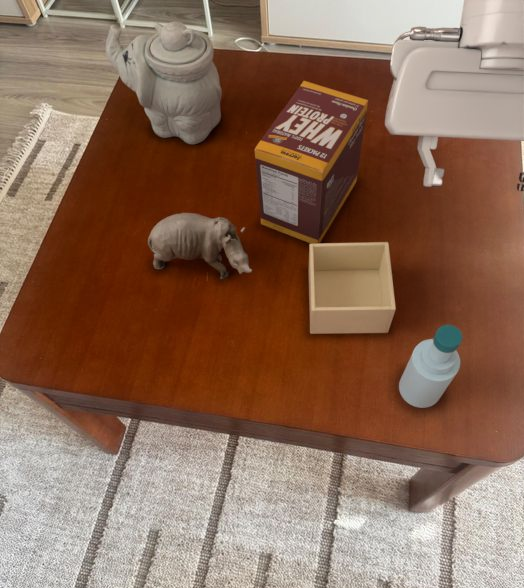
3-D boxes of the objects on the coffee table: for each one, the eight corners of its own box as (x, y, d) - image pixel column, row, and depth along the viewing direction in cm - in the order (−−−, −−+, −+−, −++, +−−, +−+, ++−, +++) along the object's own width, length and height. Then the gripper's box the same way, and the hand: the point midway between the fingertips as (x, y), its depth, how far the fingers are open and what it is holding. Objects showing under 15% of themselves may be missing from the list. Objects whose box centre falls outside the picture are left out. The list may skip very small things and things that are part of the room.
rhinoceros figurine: (149, 217, 83) (184, 175, 70) (223, 258, 89) (268, 226, 76) (131, 259, 80) (165, 223, 68) (209, 298, 86) (253, 272, 73)
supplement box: (358, 180, 88) (370, 98, 74) (318, 247, 82) (323, 172, 68) (302, 161, 90) (303, 78, 76) (259, 224, 85) (253, 148, 71)
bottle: (438, 369, 72) (471, 313, 58) (444, 407, 69) (480, 358, 56) (396, 369, 72) (420, 313, 59) (401, 408, 69) (426, 359, 56)
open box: (381, 269, 79) (388, 241, 74) (387, 332, 75) (395, 309, 69) (308, 270, 80) (309, 243, 74) (310, 333, 75) (311, 310, 69)
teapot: (124, 111, 98) (88, 8, 82) (196, 82, 101) (176, -24, 84) (160, 166, 92) (129, 66, 75) (236, 133, 94) (223, 28, 77)
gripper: (401, 18, 45) (380, 186, 50) (644, 28, 44) (597, 197, 50) (389, 31, 51) (371, 181, 56) (604, 40, 50) (565, 191, 55)
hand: (479, 189), depth 53 cm, fingers open, 8 cm apart
